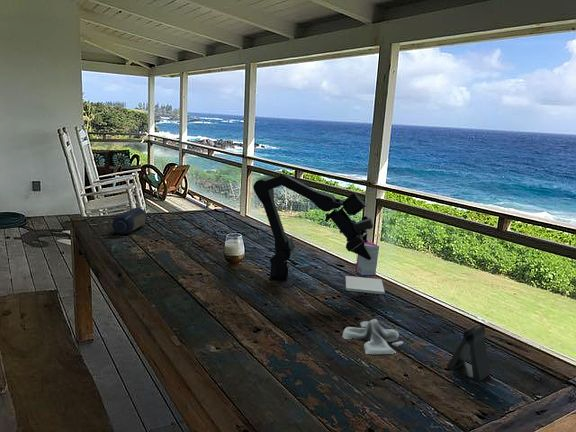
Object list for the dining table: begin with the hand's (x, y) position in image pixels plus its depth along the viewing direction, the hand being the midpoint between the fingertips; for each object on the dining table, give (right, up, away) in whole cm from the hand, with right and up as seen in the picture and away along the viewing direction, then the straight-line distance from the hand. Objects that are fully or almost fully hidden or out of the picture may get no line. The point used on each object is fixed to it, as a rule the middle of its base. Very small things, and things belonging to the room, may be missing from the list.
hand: (371, 256), depth 172 cm
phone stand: (+16, -25, -50) cm, 59 cm away
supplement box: (-2, -7, +2) cm, 7 cm away
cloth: (-4, -21, -34) cm, 41 cm away
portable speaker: (-110, +8, +66) cm, 129 cm away
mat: (-1, -12, +8) cm, 14 cm away
